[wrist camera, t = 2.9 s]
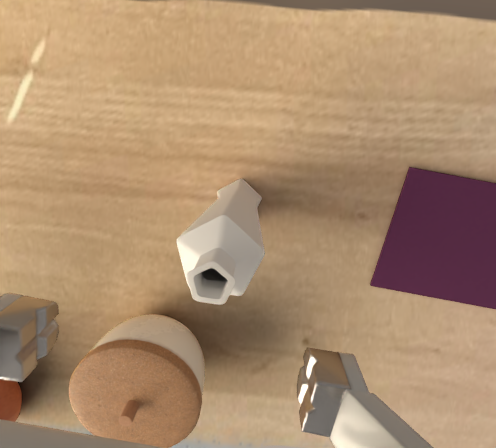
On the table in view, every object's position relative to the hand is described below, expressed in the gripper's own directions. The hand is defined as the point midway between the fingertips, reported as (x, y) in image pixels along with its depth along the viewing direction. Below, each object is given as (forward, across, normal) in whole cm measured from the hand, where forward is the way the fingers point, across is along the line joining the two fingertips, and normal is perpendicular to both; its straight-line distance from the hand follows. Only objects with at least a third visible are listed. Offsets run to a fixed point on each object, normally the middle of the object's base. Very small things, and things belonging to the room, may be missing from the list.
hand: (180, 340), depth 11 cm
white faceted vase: (+19, 0, 0) cm, 19 cm away
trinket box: (+19, +5, +16) cm, 25 cm away
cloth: (+19, -20, 0) cm, 27 cm away
